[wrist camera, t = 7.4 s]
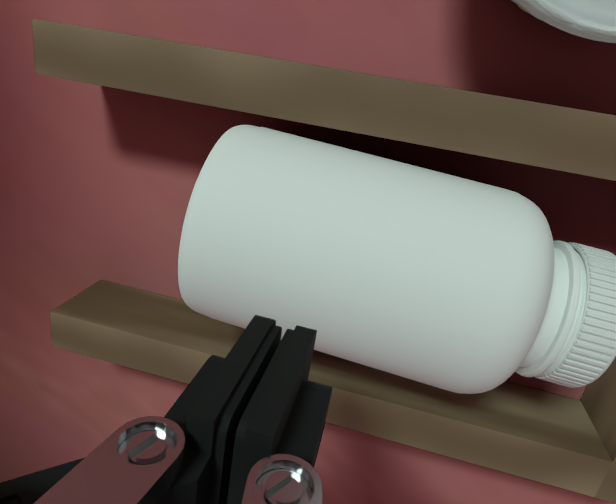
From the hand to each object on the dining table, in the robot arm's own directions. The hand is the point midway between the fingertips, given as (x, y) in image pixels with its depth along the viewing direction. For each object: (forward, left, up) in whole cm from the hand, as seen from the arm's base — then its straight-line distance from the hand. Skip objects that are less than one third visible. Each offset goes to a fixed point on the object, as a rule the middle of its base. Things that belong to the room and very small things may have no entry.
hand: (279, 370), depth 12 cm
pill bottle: (-1, -5, -7) cm, 9 cm away
